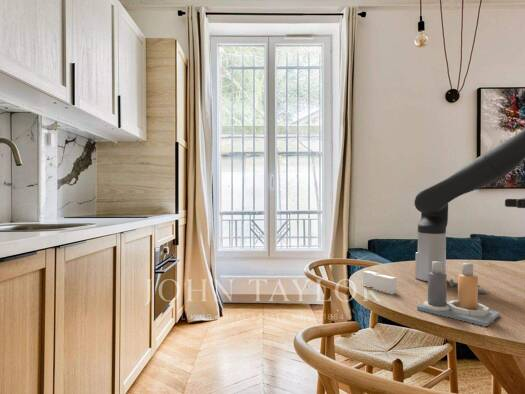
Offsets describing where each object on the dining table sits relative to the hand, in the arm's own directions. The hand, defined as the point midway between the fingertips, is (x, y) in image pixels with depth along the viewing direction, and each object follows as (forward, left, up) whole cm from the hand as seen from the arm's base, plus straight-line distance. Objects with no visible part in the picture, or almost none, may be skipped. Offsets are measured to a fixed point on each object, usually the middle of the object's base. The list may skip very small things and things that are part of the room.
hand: (510, 203), depth 89 cm
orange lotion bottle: (-7, -11, -28) cm, 31 cm away
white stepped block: (-35, -6, -29) cm, 46 cm away
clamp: (-15, +16, -29) cm, 36 cm away
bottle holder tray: (-9, -12, -29) cm, 32 cm away
